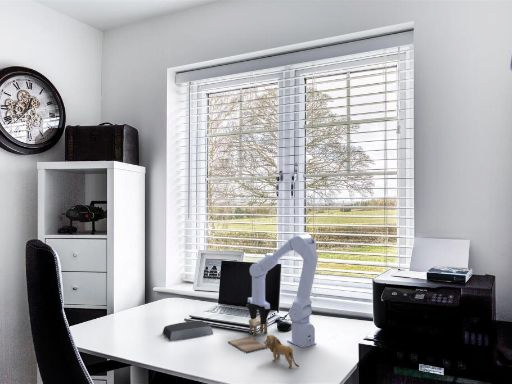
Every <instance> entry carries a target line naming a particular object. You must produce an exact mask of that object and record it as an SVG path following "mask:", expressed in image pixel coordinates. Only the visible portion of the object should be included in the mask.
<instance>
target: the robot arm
mask: <svg viewBox="0 0 512 384" xmlns="http://www.w3.org/2000/svg"><path fill="white" fill-rule="evenodd" d="M316 243H317V241H316V240H315V239H314V238H313V236H312V235H310V234H308V233H305V234H302V235H294V236H293V237H292V238H290V239H288V240H287V241H286V242H285V243H284V244H283V245H281V246H280V247H279V248H278V249H277V250H276V251H274V252H268V253H266V254H264V257H263V258H261V259H258V260H257V262H256V263H252V264H251V265H250V267H249V274H250V276H251V297H247V303H246V305H245V306H246V307H247V309H248V312H249V316H250V319H255V318H257V315H258V314H259V318H260V322H261V324H262V325H263V324H266V321H267V319H268V316H269V314H270V312H271V310H272V308H271V304H270V303H269V302H268V301H267V300H266V275H267V274H268V271H270V270H272V269H273V268H274V267H276V265H278V264H279V259H281V258H283V257H284V256H285V255H287V254H288V253H290V252H291V251H294V252H295V253H297V254H298V255H299V256H300V257H301V258H302V260H303V263H302V267H301V274H300V278H299V283H298V288H297V293H296V297H295V298H294V300H293V301H292V304H291V307H290V308H289V310H288V316H289V318H290V320H291V338H289V339H287V342H289V343H291V344H293V345H295V346H297V347H299V348H306V347H309V346H313V345H317V342H316V339H315V338H316V335H315V334H316V330H315V326H314V325H313V324H312V323H311V322H310V316H311V315H312V314H313V308H312V300H311V299H310V298H311V294H312V289H313V284H314V279H315V274H316V269H317V265H318V261H319V260H318V259H319V256H318V252H317V247H316ZM258 312H259V313H258ZM257 313H258V314H257ZM263 326H264V325H263Z"/></svg>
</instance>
